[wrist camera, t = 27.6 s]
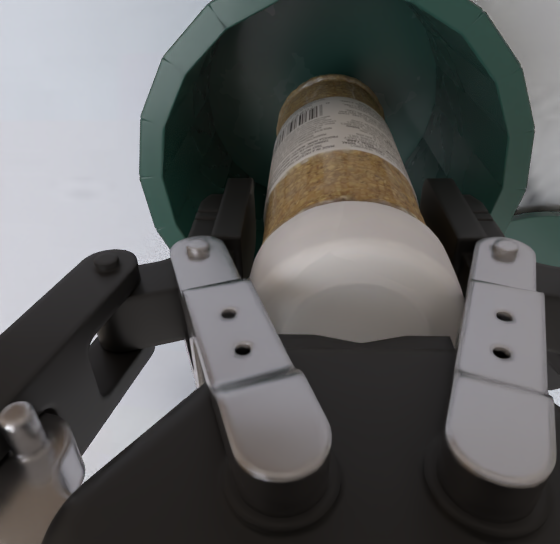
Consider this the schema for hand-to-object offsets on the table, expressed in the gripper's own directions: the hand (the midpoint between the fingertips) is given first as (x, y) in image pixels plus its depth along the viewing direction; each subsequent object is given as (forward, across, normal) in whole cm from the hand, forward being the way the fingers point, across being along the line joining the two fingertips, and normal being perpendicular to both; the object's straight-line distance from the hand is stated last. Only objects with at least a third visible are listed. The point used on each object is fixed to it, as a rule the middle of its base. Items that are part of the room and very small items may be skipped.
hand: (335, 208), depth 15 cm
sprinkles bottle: (+8, 0, 0) cm, 8 cm away
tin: (+12, 0, 0) cm, 12 cm away
